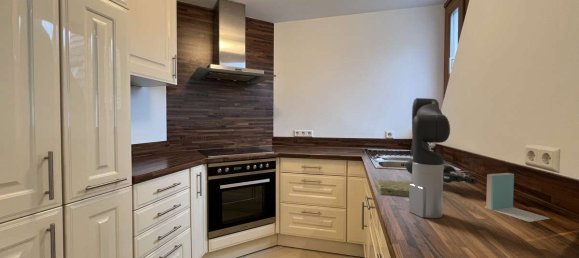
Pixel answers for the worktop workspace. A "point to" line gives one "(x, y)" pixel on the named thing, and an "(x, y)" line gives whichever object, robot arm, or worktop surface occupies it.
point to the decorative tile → (393, 187)
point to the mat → (521, 214)
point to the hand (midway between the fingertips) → (475, 181)
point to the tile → (500, 191)
